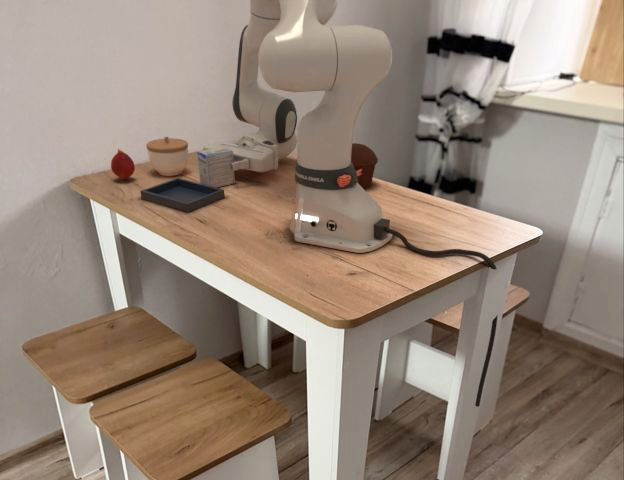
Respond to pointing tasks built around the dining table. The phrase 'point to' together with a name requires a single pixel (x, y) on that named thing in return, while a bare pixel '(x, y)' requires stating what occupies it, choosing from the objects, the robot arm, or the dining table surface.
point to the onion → (122, 165)
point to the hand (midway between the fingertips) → (218, 163)
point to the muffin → (363, 163)
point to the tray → (182, 194)
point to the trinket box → (168, 155)
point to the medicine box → (216, 167)
